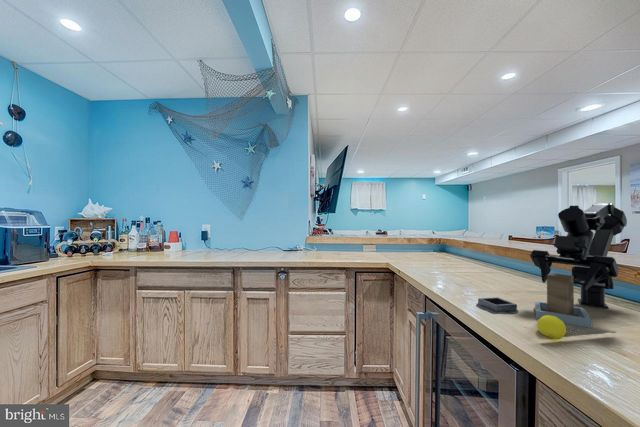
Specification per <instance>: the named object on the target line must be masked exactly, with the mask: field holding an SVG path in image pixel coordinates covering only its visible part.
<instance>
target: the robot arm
mask: <svg viewBox="0 0 640 427" xmlns="http://www.w3.org/2000/svg"><path fill="white" fill-rule="evenodd" d="M557 216H558V219H559V222H560V224H561V227H562V229H563V231H564V232H565V233H567V234H566V235H556V236H554V237H555V238H554V244H553V247H555V248H556V254H558V255H559V256H557V255H550V253H549V251H548V250H539V249H538V250H537V249H533V250H532V251H530V255H529V257H530V259H531V260H532V263H533V264H534V267H537V268H538V269H540V274H541V275H540V276H541V282H542V283H543V284H544V283H547V275H548V274H551V273H550V272H551V270H552V268H551V267H552V265H553V264H560V265H561V264H562V265H567V266H571V276H574V285H579V286H580V298H577V301H578V303H579V304H580V305H582V306H589V307H593V308H595V307H596V308H602V309H609V305H608V304H607V303H606V293H605V292H606V290H614V288H615V287H614V280H613V278H618V274H619V266H618V263H617V261H616V258H614V257H613V256H608V253H609V252H610V251H609V250H610V248H611V244H612V241H613V240H614V237H615V236H616V235H618V234H621V233H622V232H623V230H624V228H625V227H627V224H628V222H627V221H628V220H627V216H626V214H625V212H624V211H623V210H621V209H619V208H617V207H616V206H615V204H614V203H611V202H600V203H599V202H597V203H596V202H595V203H592V205H591V206H590V207H589V208H587V209H585V210H583V209H581V208H580V207H579V205H569V207H567V208H565V209H563V210H561V211H560V212H558V214H557ZM593 231H594V232H593Z"/></svg>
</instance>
